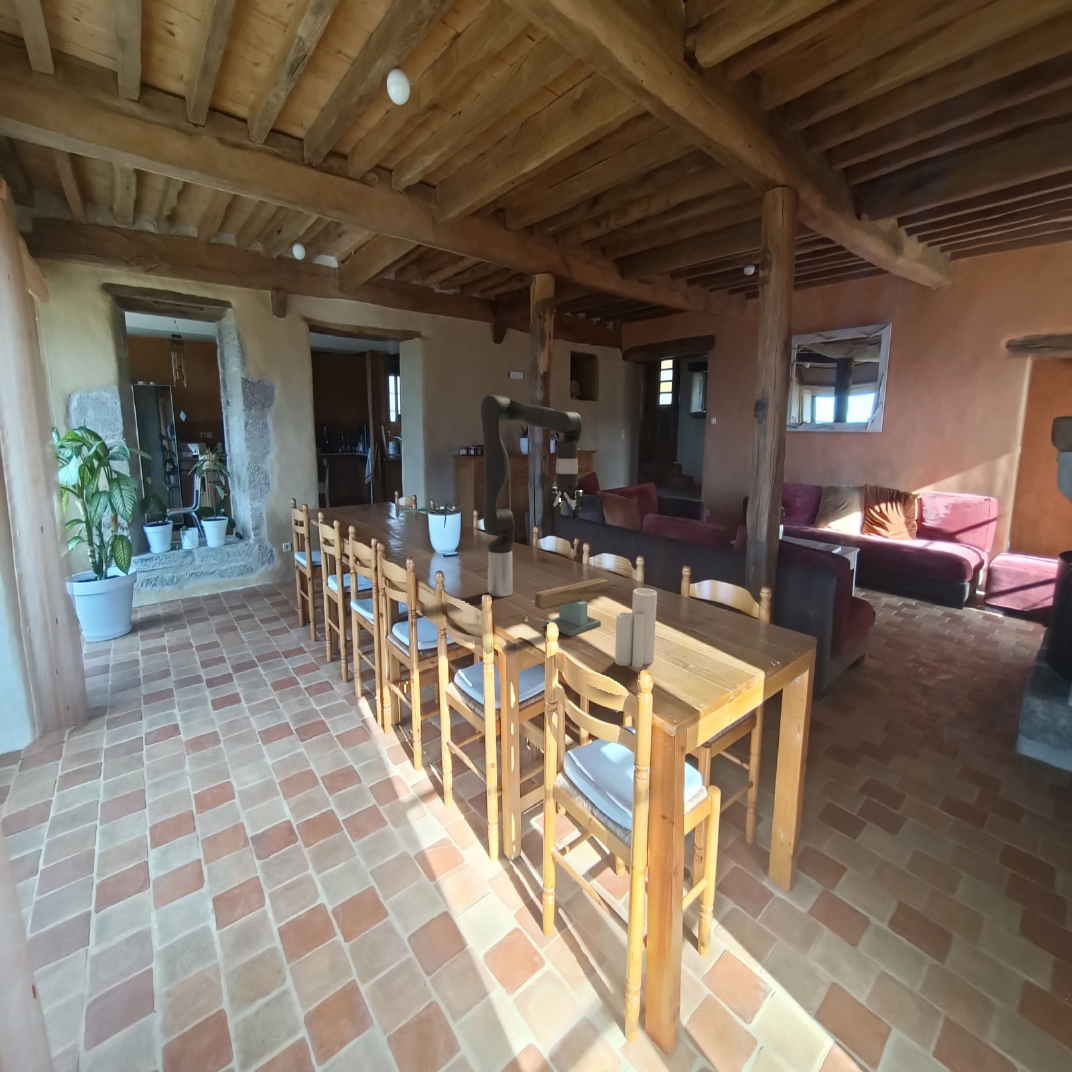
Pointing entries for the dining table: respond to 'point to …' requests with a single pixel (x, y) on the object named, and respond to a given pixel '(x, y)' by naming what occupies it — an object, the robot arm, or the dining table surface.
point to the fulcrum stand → (574, 618)
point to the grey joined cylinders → (637, 630)
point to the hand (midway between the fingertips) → (566, 518)
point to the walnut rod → (570, 593)
